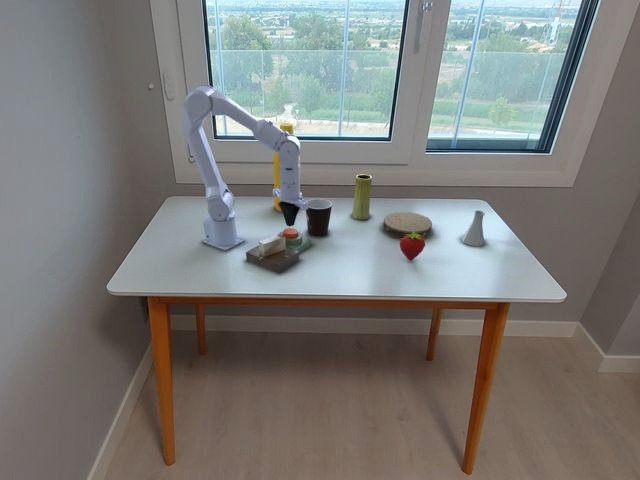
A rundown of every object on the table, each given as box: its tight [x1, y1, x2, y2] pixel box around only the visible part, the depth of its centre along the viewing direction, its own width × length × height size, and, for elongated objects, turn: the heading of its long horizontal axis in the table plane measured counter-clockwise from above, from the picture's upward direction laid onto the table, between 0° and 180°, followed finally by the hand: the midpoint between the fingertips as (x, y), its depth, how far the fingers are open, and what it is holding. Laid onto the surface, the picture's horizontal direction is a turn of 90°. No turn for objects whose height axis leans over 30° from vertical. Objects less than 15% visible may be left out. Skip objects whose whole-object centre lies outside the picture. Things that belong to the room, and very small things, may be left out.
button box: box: [278, 230, 312, 253], centre depth 138 cm, size 10×8×4 cm
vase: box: [351, 173, 373, 220], centre depth 155 cm, size 6×6×14 cm
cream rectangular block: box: [258, 233, 285, 257], centre depth 128 cm, size 8×2×4 cm, turn 131°
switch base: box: [245, 244, 300, 275], centre depth 130 cm, size 12×12×3 cm
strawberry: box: [399, 229, 426, 262], centre depth 131 cm, size 6×8×10 cm
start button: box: [282, 227, 298, 239], centre depth 137 cm, size 4×4×2 cm
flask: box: [461, 210, 486, 247], centre depth 142 cm, size 7×7×10 cm
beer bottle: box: [273, 122, 301, 213], centre depth 156 cm, size 9×9×29 cm
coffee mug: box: [305, 198, 333, 238], centre depth 146 cm, size 12×9×10 cm
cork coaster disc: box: [382, 211, 433, 240], centre depth 150 cm, size 16×16×3 cm
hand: (290, 225), depth 135 cm, fingers closed
